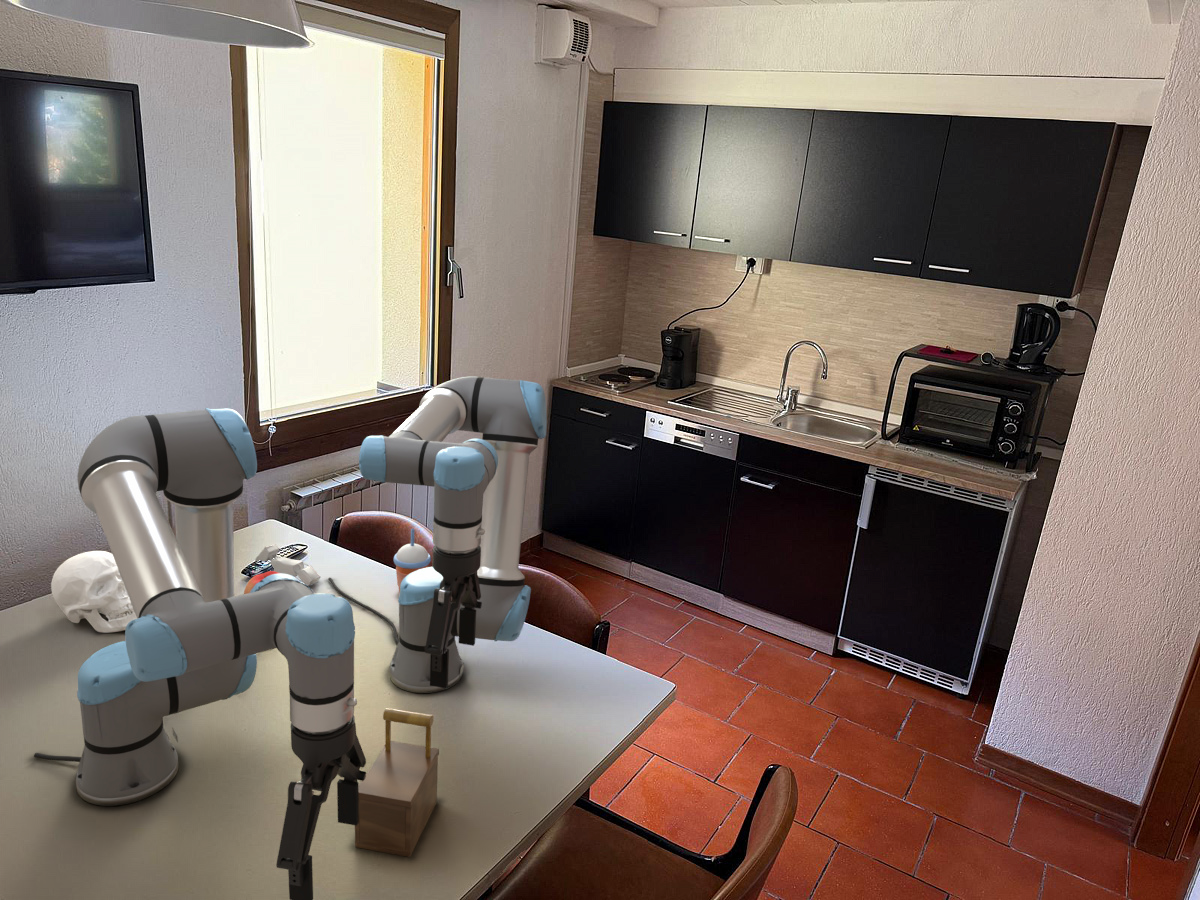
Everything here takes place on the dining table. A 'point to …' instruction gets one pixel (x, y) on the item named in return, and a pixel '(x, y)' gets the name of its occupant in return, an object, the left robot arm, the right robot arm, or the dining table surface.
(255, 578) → the apple
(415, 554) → the cup with straw
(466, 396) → the right robot arm
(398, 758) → the lid
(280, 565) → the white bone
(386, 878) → the dining table surface
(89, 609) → the skull
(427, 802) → the chest
